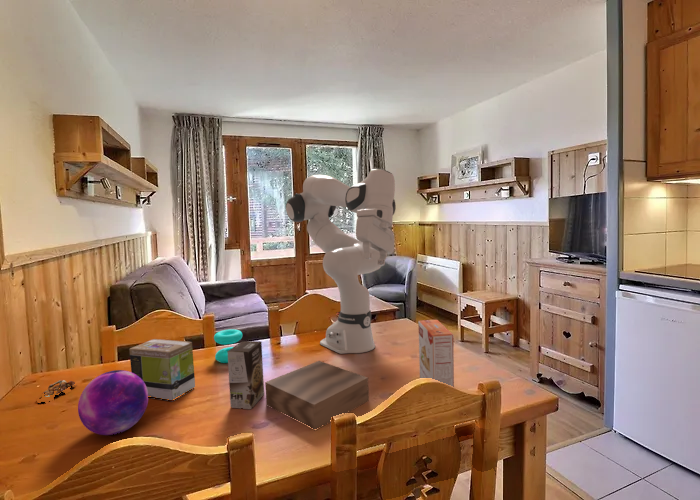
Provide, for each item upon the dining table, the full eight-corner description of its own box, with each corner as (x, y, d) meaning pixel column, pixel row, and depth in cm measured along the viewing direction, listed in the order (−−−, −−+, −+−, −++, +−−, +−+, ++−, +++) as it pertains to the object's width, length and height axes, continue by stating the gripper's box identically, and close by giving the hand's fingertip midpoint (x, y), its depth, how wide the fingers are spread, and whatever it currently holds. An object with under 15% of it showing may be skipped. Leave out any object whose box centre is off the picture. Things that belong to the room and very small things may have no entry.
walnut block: (266, 406, 112) (265, 382, 111) (319, 382, 126) (318, 360, 125) (315, 432, 98) (314, 404, 97) (368, 401, 112) (368, 377, 112)
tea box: (196, 387, 124) (193, 341, 123) (172, 402, 115) (168, 352, 113) (158, 382, 129) (154, 337, 128) (131, 396, 120) (127, 347, 118)
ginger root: (30, 406, 116) (29, 394, 116) (55, 388, 128) (54, 377, 128) (56, 404, 117) (55, 392, 117) (79, 386, 129) (77, 375, 129)
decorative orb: (135, 445, 94) (129, 383, 92) (67, 450, 93) (60, 388, 91) (159, 413, 109) (155, 359, 107) (101, 417, 108) (96, 362, 106)
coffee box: (251, 409, 109) (248, 352, 108) (229, 408, 110) (226, 351, 109) (265, 394, 118) (262, 340, 116) (244, 393, 119) (241, 340, 118)
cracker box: (418, 389, 118) (417, 319, 116) (438, 388, 119) (438, 318, 116) (432, 413, 104) (431, 334, 102) (455, 411, 105) (454, 333, 103)
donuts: (239, 326, 153) (245, 333, 145) (240, 352, 154) (246, 360, 146) (211, 331, 149) (216, 338, 140) (213, 357, 150) (218, 366, 141)
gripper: (382, 228, 136) (379, 268, 133) (353, 209, 119) (349, 254, 116) (400, 227, 133) (397, 268, 130) (373, 207, 116) (368, 254, 113)
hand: (374, 262), depth 123 cm, fingers open, 8 cm apart
